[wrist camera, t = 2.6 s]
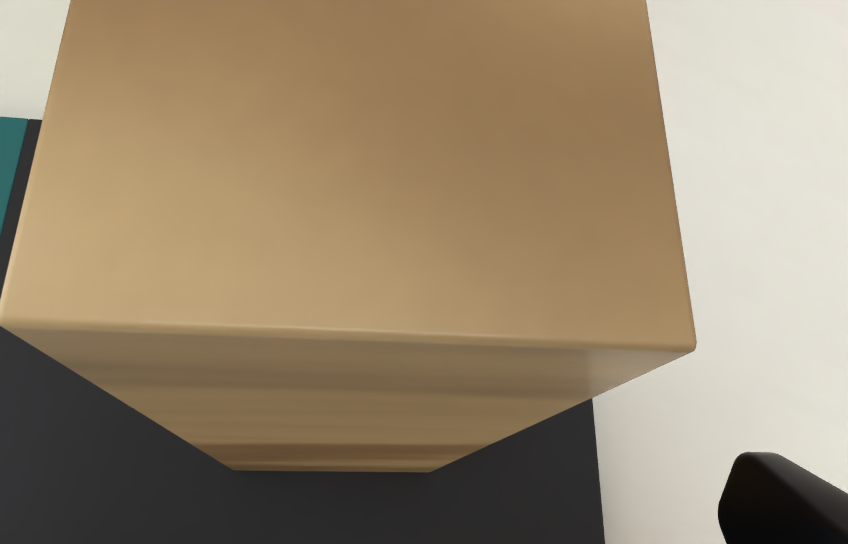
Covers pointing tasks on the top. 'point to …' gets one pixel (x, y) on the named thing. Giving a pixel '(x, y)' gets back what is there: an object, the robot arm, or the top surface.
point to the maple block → (352, 221)
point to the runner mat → (251, 490)
